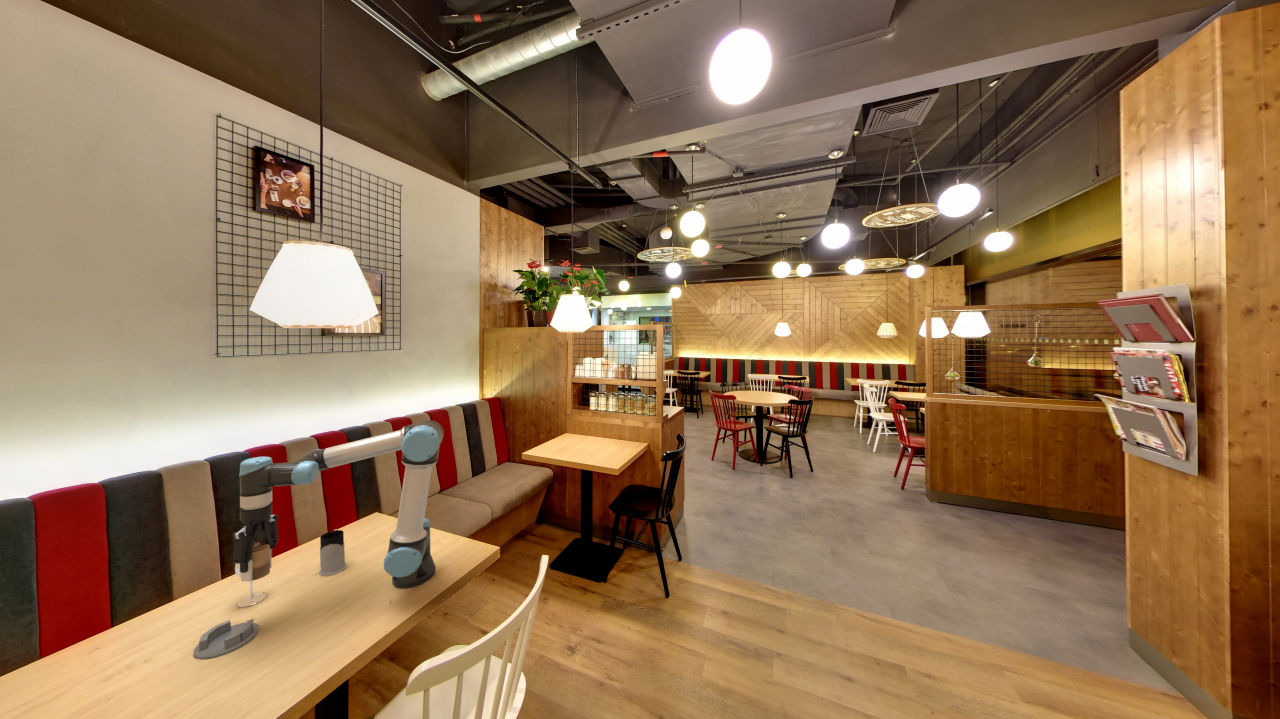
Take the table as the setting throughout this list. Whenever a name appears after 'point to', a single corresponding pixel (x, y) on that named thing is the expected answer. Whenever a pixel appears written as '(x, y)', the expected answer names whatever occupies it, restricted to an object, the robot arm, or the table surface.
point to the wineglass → (252, 597)
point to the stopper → (260, 560)
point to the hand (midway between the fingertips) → (256, 574)
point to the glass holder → (332, 553)
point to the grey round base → (225, 639)
